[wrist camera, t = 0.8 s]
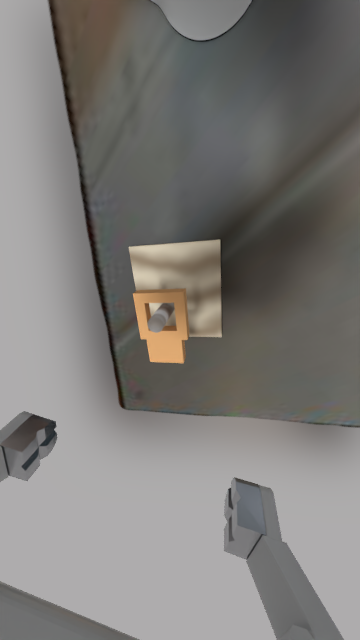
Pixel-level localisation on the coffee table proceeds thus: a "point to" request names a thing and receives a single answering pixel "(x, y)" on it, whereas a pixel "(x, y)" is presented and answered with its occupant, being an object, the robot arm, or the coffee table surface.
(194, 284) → the pipe stand
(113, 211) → the coffee table surface
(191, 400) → the coffee table surface
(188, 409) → the coffee table surface
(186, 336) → the collar
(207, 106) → the coffee table surface
